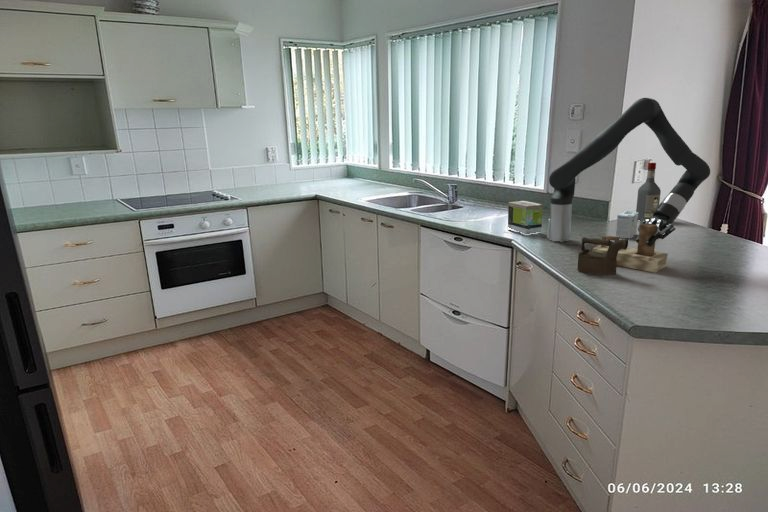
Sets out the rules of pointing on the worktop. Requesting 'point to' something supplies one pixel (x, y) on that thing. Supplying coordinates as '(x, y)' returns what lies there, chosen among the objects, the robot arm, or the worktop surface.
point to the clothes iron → (600, 256)
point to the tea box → (525, 216)
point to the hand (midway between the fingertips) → (642, 243)
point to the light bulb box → (627, 224)
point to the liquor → (648, 195)
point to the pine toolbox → (635, 257)
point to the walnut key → (646, 239)
